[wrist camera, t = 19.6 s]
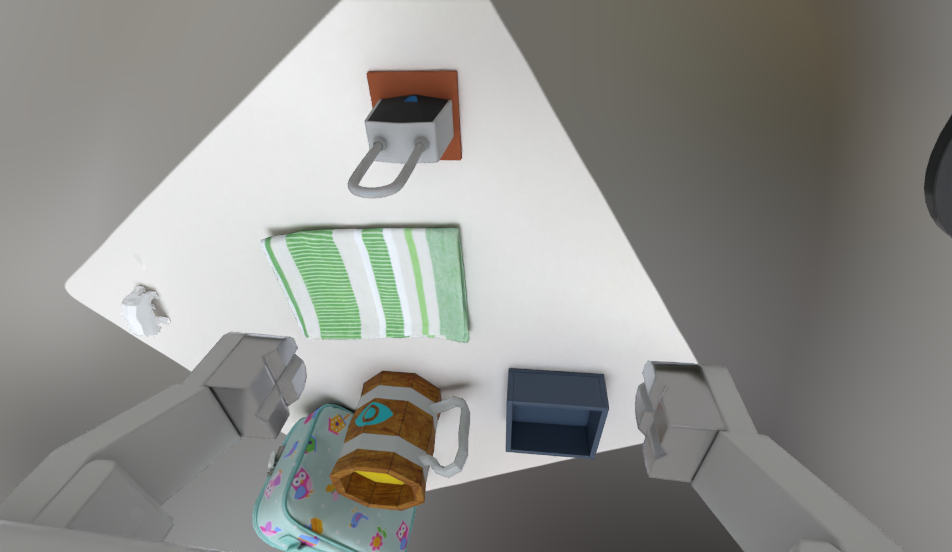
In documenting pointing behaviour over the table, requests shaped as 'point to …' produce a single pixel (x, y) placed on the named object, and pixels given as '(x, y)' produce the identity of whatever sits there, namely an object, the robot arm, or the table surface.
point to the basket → (555, 412)
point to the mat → (425, 85)
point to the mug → (395, 442)
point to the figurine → (141, 312)
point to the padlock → (404, 138)
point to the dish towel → (373, 282)
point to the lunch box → (321, 496)
